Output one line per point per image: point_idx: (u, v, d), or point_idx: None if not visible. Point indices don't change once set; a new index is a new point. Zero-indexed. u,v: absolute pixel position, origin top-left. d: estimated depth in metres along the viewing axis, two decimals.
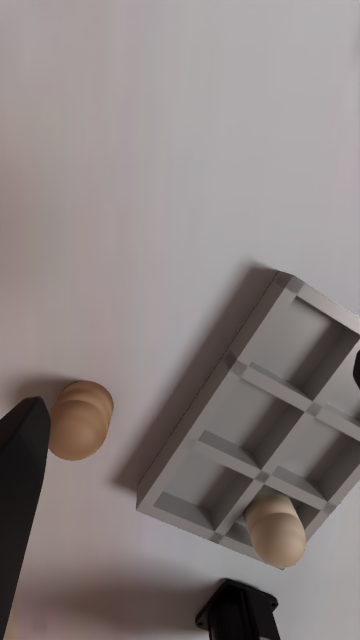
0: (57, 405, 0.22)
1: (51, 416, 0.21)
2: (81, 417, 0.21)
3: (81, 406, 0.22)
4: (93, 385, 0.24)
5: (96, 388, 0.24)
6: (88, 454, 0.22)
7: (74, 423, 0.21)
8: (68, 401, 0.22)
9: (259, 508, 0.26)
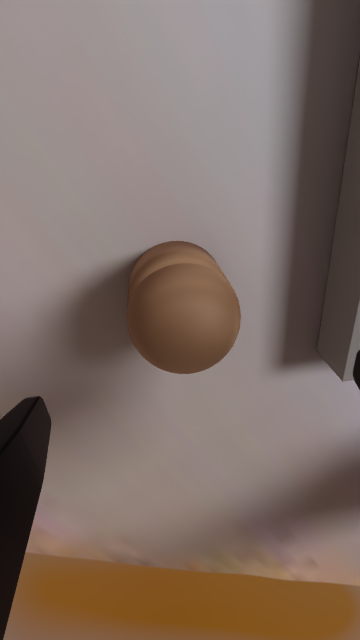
0: (129, 301, 0.12)
1: (131, 321, 0.11)
2: (178, 289, 0.10)
3: (166, 274, 0.11)
4: (166, 246, 0.13)
5: (171, 246, 0.13)
6: (231, 342, 0.11)
7: (174, 305, 0.10)
8: (141, 283, 0.11)
9: None
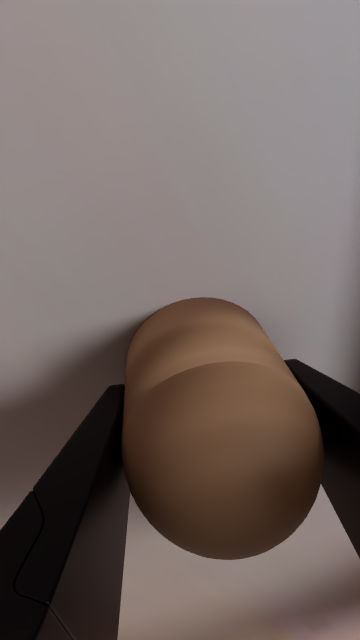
0: (126, 423, 0.07)
1: (129, 470, 0.06)
2: (222, 431, 0.05)
3: (195, 392, 0.06)
4: (186, 309, 0.08)
5: (196, 311, 0.08)
6: (311, 505, 0.06)
7: (213, 466, 0.05)
8: (147, 398, 0.06)
9: None
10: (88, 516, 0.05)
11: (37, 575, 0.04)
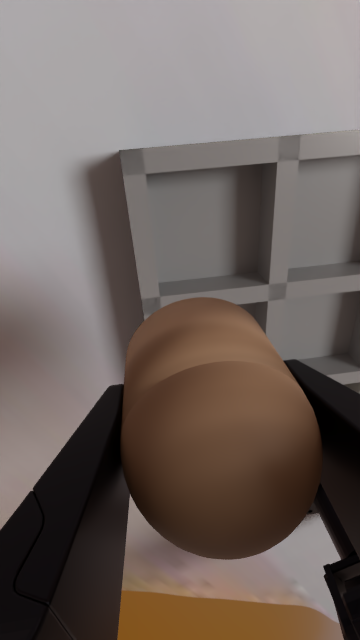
0: (125, 423, 0.07)
1: (128, 469, 0.06)
2: (220, 430, 0.05)
3: (194, 391, 0.06)
4: (184, 310, 0.08)
5: (194, 311, 0.08)
6: (309, 505, 0.06)
7: (212, 466, 0.05)
8: (146, 398, 0.06)
9: None
10: (88, 516, 0.05)
11: (37, 575, 0.04)
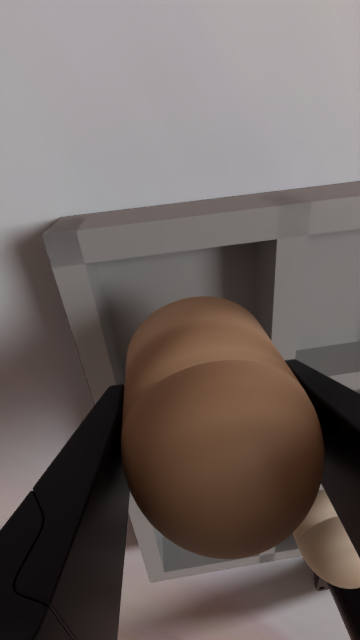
0: (126, 422, 0.07)
1: (128, 469, 0.06)
2: (221, 429, 0.05)
3: (195, 390, 0.06)
4: (185, 308, 0.08)
5: (195, 310, 0.08)
6: (311, 505, 0.06)
7: (213, 465, 0.05)
8: (147, 397, 0.06)
9: None
10: (88, 516, 0.05)
11: (37, 575, 0.04)
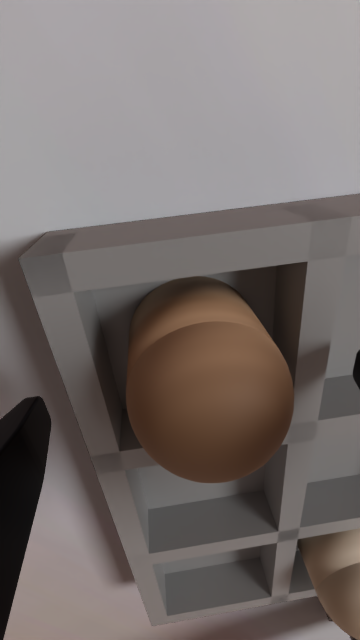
0: (130, 375, 0.08)
1: (133, 410, 0.07)
2: (207, 371, 0.07)
3: (187, 343, 0.07)
4: (180, 285, 0.10)
5: (189, 286, 0.09)
6: (283, 440, 0.08)
7: (201, 398, 0.06)
8: (148, 352, 0.07)
9: (313, 560, 0.16)
10: None
11: None
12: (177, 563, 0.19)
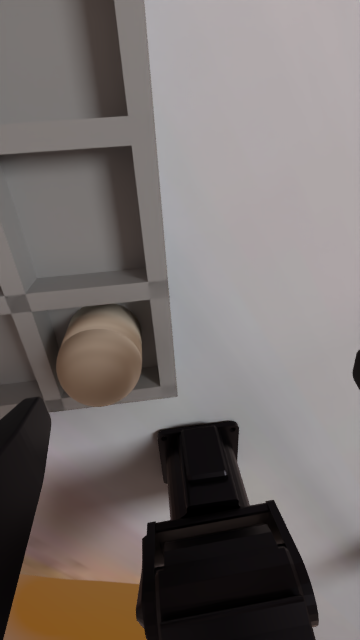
0: None
1: None
2: None
3: None
4: None
5: None
6: None
7: None
8: None
9: None
10: None
11: None
12: None
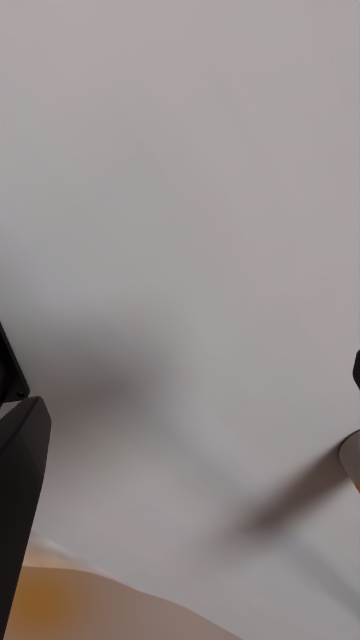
0: None
1: None
2: None
3: None
4: None
5: None
6: None
7: None
8: None
9: None
10: None
11: None
12: None
